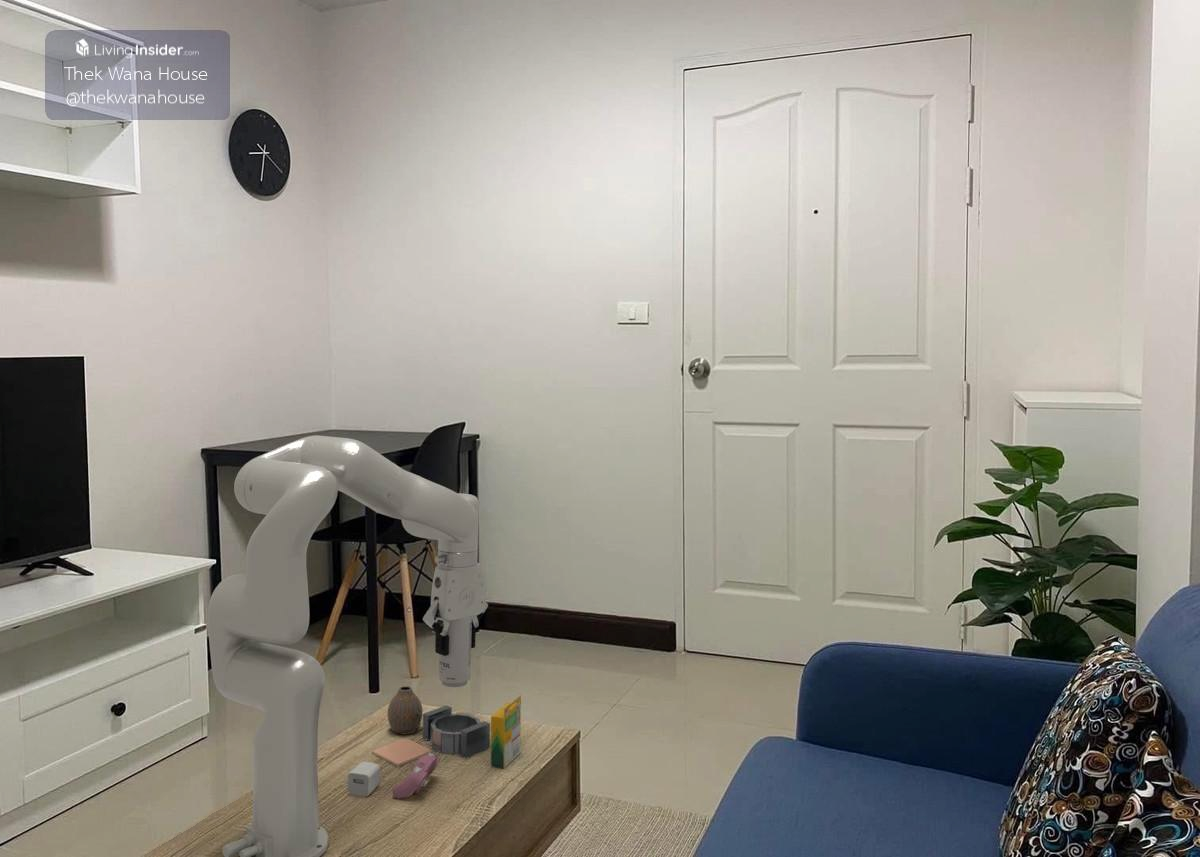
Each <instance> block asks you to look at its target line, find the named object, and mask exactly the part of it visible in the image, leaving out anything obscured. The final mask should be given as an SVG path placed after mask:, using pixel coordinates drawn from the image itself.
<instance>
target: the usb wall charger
mask: <svg viewBox="0 0 1200 857" xmlns="http://www.w3.org/2000/svg"><path fill="white" fill-rule="evenodd" d="M382 770H383V766H382V765H380V764H378V763H374V762H367V761H361V762H360V763H359V764H357V765H356V766H355V768H353V769H352V770H351V771H350V772H349V773H348V774H347V792H348V794H349V795H352V796H360V797H365V796H367V797H369V795H370V794H371V793H373V791H374V790H375V789H376V788H378V786H379V785H380V784H381V772H382Z"/></svg>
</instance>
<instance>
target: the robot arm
mask: <svg viewBox="0 0 1200 857" xmlns="http://www.w3.org/2000/svg"><path fill="white" fill-rule="evenodd" d="M233 484H234V487H233V491H234V492H233V493H234V496H235V498H236V500H237V502H238V503H239V505H241V506H242V508H244V509H246V511H249V512H252V513H253V514H254V513H255V514H260V515H265V516H264V518H262V520H261V522H260V523H259V524H258V526H257V527H256V528H255V529H254V531H253V533H252V534H251V536H250V539H249V541H248V544H247V547H246V553H245V563H246V564H245V565H246V567H245V570H246V571H245V572H246V573H236V574H233V575H229V576H227V577H226V578H224V579H223V580H221V581H220V582H219V583H218V585H216V587H215V588H214V590H213V592H212V595H211V596H210V600H209V603H208V607H207V614H206V615H207V619H206V620H207V632H208V641H209V653H210V661H211V662H210V664H211V672H212V678H213V683H214V685H215V687H216V690H217V691H218V692H219V694H220V695H221V696H222V697H224V698H226V699H227V700H230V701H232V702H236V703H238V704H242V705H246V706H249V707H252V708H255V709H258V710H260V711H262V713H263V717H262V719H261V721H260V723H259V725H258V727H257V728H256V731H255V732H254V734H253V739H252V743H251V744H252V745H251V746H252V747H251V748H252V750H251V751H252V753H251V754H252V756H251V757H252V812H253V813H252V817H253V818H252V819H253V820H252V821H253V824H250V825H248V826H246V834H244V835H242V836H241V838H240V839H238V840H234V841H231V842H229V843H227V844H224V845H223V846H222V848H221V852H222V855H223V857H234V856H236V855H239V857H321V856H322V855H323V854H324V853H325V852H326V851H327V849H328V847H329V833H328V832H327V830H326V829H325V828H324V827H322V826H321V825H319V754H318V753H319V751H318V748H319V744H318V743H319V735H318V734H319V716H320V708H321V703H322V699H323V695H324V689H325V681H326V680H325V678H326V677H325V671H324V669H323V667H322V665H321V664H320V662H319V661H318V660H317V659H316V658H315V657H313V656H311V654H308V653H306V652H304V651H301V650H298V649H295V648H294V649H293V648H290V647H285V646H291V645H294V644H295V643H296V644H297V643H298V642H299V641H301V640H302V639H303V638H304V637H305V635H306V634H307V632H308V628H309V625H310V599H309V598H310V597H309V585H308V583H309V582H308V572H307V551H308V547H309V544H310V540H311V538H312V536H313V534H314V533H315V531H317V530H316V529H317V528H318V527H319V526H320V524H321V523H322V521H324V519H325V518H326V517H327V515H328V514H329V513H330V512H331V510H332V509H333V507H334V505H335V504H336V500H337V498H338V492H341V493H343V494H345V495H346V496H348V497H351V498H352V499H354V500H355V501H357V502H359V503H361V504H362V505H364V506H365V507H367V508H369V509H370V510H372V511H374V512H375V513H377V514H380V515H384V516H387V517H390V518H393V519H397V520H401V524H402V527H403V528H404V530H405V531H406V532H407V533H408V534H410V535H411V536H414V537H417V538H421V539H428V540H434V541H435V540H436V541H437V543H438V544H437V555H436V556H435V557H434V562H435V564H437V565H436V566H435V568H434V569H435V570H434V573H433V578H432V586H431V595H430V606H429V608H428V610H426V613H425V614H424V615H423V617H422V621H423V622H424V623H425V624H426V625H427V626H428V628H430V629H431V631H432V633H433V634H435V643H434V648H435V649H434V650H435V651H434V652H435V653H436V654H438V655H440V654H441V655H443V656H447V655H448V654H449V635H446V634H447V631H448V627H449V624H450V622H452V621H457V620H459V619H462V618H465V617H472V635H471V649H474V648H476V635H477V634H476V632H477V631H476V630H477V629H476V628H478V627H479V622H480V620H481V619H482V618H483V616H484V613H485V612H486V610H487V608H488V607H489V604H488V603H487V601H486V600H485V592H484V591H485V589H484V588H485V586H484V578H483V570H482V566H481V563H479V562H478V555H479V552H478V551H479V550H478V549H479V547H478V546H479V524H480V523H479V520H480V519H479V517H480V516H479V514H480V512H479V511H480V503H479V499H478V497H477V496H476V495H473V494H469V493H458V492H456V491H454V490H452V489H450V488H448V487H446V486H443V485H441V484H438V483H436V482H435V481H434V482H433V481H431V480H429V479H426V478H425V477H422V476H421V475H417V474H415V473H413V472H410V471H408V470H405V469H403V468H402V467H400V466H398V465H397V464H396V463H394V462H392V461H391V460H390V459H388V458H386V457H385V456H384V455H382V454H381V453H379V452H378V451H376V450H375V449H373V448H372V447H371V446H369V445H367V444H366V443H364V442H362V441H360V440H357V439H354V438H350V437H349V438H348V437H339V436H337V437H336V436H328V435H317V434H316V435H309V436H305V437H302V438H300V439H296V440H294V441H292V442H288V443H286V444H284V445H283V446H280V447H277V448H275V449H273V450H270V451H267V452H265V453H263V454H262V455H261V454H260V455H258V456H256V457H254V458H252V459H251V460H249V461H248V462H246V463H244V465H243V466H242V467H241V469H240V470H239V471H238V472H237V474H236V477H235V480H234V483H233ZM442 621H444V622H443V625H442V627H441V623H442Z"/></svg>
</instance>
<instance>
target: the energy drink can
mask: <svg viewBox="0 0 1200 857" xmlns="http://www.w3.org/2000/svg"><path fill="white" fill-rule="evenodd" d="M443 622H444V621H442V623H441V627H442V625H443ZM446 635H449V654H448V655H447V656H443V655H441V654H438V655H439V659H438V660H439V664H438V665H439V667H438V668H439V669H438V679H439V681H441V685H442V686H444V687H448V688H459V687H460V688H461V687H464V686H467V684H468V681H470V680H471V669H472V668H471V667H472V666H471V664H472V648H471V635H472V617H465V618H462V619H459V620H457V621H452V622H450V624H449V627H448V631H447V634H446Z"/></svg>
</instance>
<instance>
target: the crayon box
mask: <svg viewBox="0 0 1200 857" xmlns="http://www.w3.org/2000/svg"><path fill="white" fill-rule="evenodd" d="M521 697H522V695H519V696H518V697H517V698H515V699H514V700H513V701H511V702H509V701H508V702H506V704H504V705H503V706H502V707H500V708H499V709H498V710H497V711H496V712H495V713H493V714H492V715H491V717H490V766H491V767H493V766H495V767H494V768H498V767H499V768H498V769H503V770H505V769H506V768H505V767H508V765H510V764H511V762H513V761H514V760H515V759H516V758H517V757H518V756H519V755H520V754H521V751H522V750H521V749H522V748H521V738H522V737H521V729H522V728H521V726H522V725H521V723H522V722H521V716H522V711H521V709H522V708H521V707H522V706H521V704H522V698H521ZM504 768H505V769H504Z"/></svg>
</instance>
